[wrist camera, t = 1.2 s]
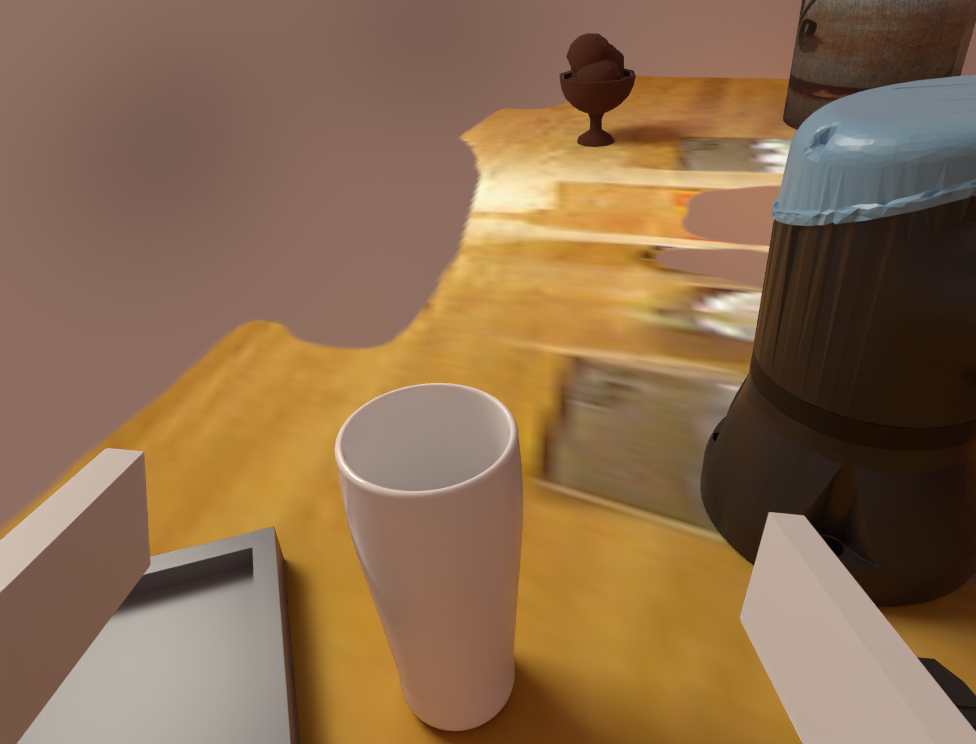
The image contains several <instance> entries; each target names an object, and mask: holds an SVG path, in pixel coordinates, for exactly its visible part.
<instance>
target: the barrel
mask: <svg viewBox="0 0 976 744" xmlns="http://www.w3.org/2000/svg"><path fill="white" fill-rule="evenodd" d="M975 22H976V0H802V6H801V11H800V18H799V24H798V30H797V36H796V42H795V48H794V55H793V60H792V67H791V73H790V79H789V85H788V91H787V97H786V103H785V110H784V116H783V121H784V122H785V123H786V124H787V125H788V126H790V127H792V128H795V129H797V130H798V128H799V127H800V126H801V124H802V123H803V122H804V121H805V120H806V119H807V118H808V117H809V116H810V115H811V114H813V113H814V112H815V111H817V110H818V109H820V108H821V107H823V106H825V105H826V104H829V103H831V102H833V101H835V100H838V99H840V98H843V97H845V96H848V95H852V94H855V93H858V92H861V91H865V90H869V89H874V88H878V87H883V86H888V85H893V84H899V83H905V82H911V81H919V80H927V79H936V78H945V77H955V76H960V75H961V72H962V68H963V64H964V61H965V57H966V54H967V50H968V47H969V43H970V40H971V36H972V33H973V29H974V26H975Z"/></svg>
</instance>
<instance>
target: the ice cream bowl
mask: <svg viewBox="0 0 976 744" xmlns="http://www.w3.org/2000/svg"><path fill="white" fill-rule="evenodd" d="M567 59H568V61H569V64H570V66H571V71H568V72H565V73H562V74H560V82H561V88H562V91H563V93H564V96H565V98H566V99H567V100H568V101H569V102H570V103H571V104H572V105H573V106H574V107H575V108H577V109H578V110H580V111H583V112H585V113H588V114H589V117H590V130H588V131H587V132H585V133H584V134H582V135H581V136H579V137H578V144H581V145H583V146H594V147H597V146H605V145H609V144H611V143H613V138H612V135H610V134H609V133H607V132H605V131H604V130H602V117H603V115H604V113H605V112H608V111H610V110H612V109H614V108H615V107H617V106H618V105H620V104H621V103H622V102H623V101H624V100H625V99H626V98H627V97H628V96H629V94H630V92H631V90H632V88H633V85H634V81H635V76H636V75H635V73H634V71H633V70H628V69H624V56H623V55H622V54H621V53H620V52H619V51H618V50H616V48H615V47H614V46H613V45H611V44H609V43H608V41H607V40H606V39H605V38H603V37H602V36H601V35H600V34H585V35H581V36H579V37H578V38H577V39H576V40H575V41H574V42H573V43H572V44H571V46H570V48H569V51H568V54H567Z"/></svg>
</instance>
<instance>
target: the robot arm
mask: <svg viewBox="0 0 976 744" xmlns="http://www.w3.org/2000/svg"><path fill="white" fill-rule="evenodd" d="M772 212H773V218H774V223H773V229H772V235H771V242H770V248H769V254H768V260H767V267H766V272H765V279H764V285H763V291H762V297H761V303H760V309H759V315H758V321H757V328H756V334H755V340H754V348H753V353H752V359H751V365H750V370H749V374H748V376H747V377H746V379H745V381H744V382H743V384H742V385H741V387H740V389H739V390H738V392H737V394H736V396H735V398H734V399H733V401H732V403H731V405H730V408H729V410H728V413H727V416H726V417H725V418H723V419H722V420H721V422H720V423H719V424H718V425H717V427H716V428H715V429H714V431H713V433H712V435H711V436H710V438H709V441H708V443H707V446H706V449H705V454H704V460H703V467H702V474H701V485H700V487H701V495H702V500H703V503H704V506H705V509H706V511H707V513H708V515H709V517H710V519H711V521H712V522H713V524H714V525H715V527H716V528H717V530H718V531H719V532H720V534H721V535H722V536H723V537H724V538H725V539H726V540H727V541H728V542H729V543H730V544H731V545H732V546H733V547H734V548H735V549H736V550H737V551H738V552H739V553H740V554H742V555H743V556H744V557H745V558H747V559H748V560H749V561H751V562H752V563H754V568H753V571H752V575H751V579H750V582H749V586H748V590H747V593H746V597H745V600H744V604H743V608H742V611H741V615H740V621H741V622H742V624H743V626H744V628H745V630H746V632H747V634H748V636H749V638H750V640H751V642H752V644H753V646H754V648H755V650H756V652H757V654H758V656H759V658H760V660H761V662H762V664H763V666H764V668H765V670H766V672H767V674H768V676H769V678H770V680H771V682H772V684H773V686H774V688H775V690H776V692H777V694H778V696H779V698H780V700H781V702H782V704H783V706H784V708H785V710H786V712H787V714H788V716H789V718H790V720H791V722H792V724H793V726H794V728H795V730H796V732H797V734H798V736H799V738H800V740H801V742H802V744H976V696H975V694H974V693H973V692H972V691H971V690H970V688H969V687H968V686H967V685H966V684H965V683H964V682H963V681H962V680H961V679H959V678H958V677H957V676H956V675H954V674H953V673H952V672H950V671H949V670H948V669H946V668H945V667H944V666H942V665H941V664H940V663H939V662H937V661H936V660H935V659H929V658H918V657H916V656H915V654H914V653H913V652H912V651H911V649H910V648H909V647H908V646H907V644H906V643H905V642H904V641H903V639H902V638H901V637H900V636H899V634H898V633H897V632H896V631H895V629H894V628H893V627H892V626H891V624H890V623H889V622H888V620H887V619H886V618H885V617H884V615H883V614H882V613H881V612H880V610H879V609H878V608H877V607H876V605H906V604H913V603H919V602H924V601H928V600H931V599H935V598H938V597H940V596H943V595H945V594H947V593H949V592H951V591H953V590H955V589H956V588H958V587H960V586H961V585H962V584H963V583H965V582H966V581H967V580H968V579H969V578H970V577H971V576H972V574H973V573H974V572H975V570H976V75H969V76H955V77H945V78H936V79H927V80H919V81H911V82H905V83H899V84H893V85H888V86H883V87H878V88H874V89H869V90H865V91H861V92H858V93H855V94H852V95H848V96H845V97H843V98H840V99H838V100H835V101H833V102H831V103H829V104H826V105H825V106H823V107H821V108H820V109H818V110H817V111H815V112H814V113H813V114H811V115H810V116H809V117H808V118H807V119H806V120H805V121H804V122H803V123H802V124H801V126H800V127H799V128H798V130H797V132H796V133H795V135H794V137H793V140H792V143H791V146H790V150H789V154H788V158H787V162H786V167H785V171H784V175H783V180H782V184H781V188H780V193H779V196H778V197H777V198H776V199H775V201H774V204H773V207H772ZM149 566H150V548H149V530H148V512H147V495H146V477H145V459H144V452H143V451H132V450H122V449H112V448H106V449H105V450H103V451H102V452H101V453H100V454H99V455H98V456H97V457H95V458H94V459H93V460H92V461H91V462H90V463H89V464H87V465H86V466H85V467H84V468H83V469H82V470H80V471H79V472H78V473H77V474H76V475H75V476H74V477H72V478H71V479H70V480H69V481H68V482H67V483H66V484H64V485H63V486H62V487H61V488H60V489H59V490H58V491H56V492H55V493H54V494H53V495H52V496H51V497H50V498H48V499H47V500H46V501H45V502H44V503H43V504H42V505H40V506H39V507H38V508H37V509H36V510H35V511H33V512H32V513H31V514H30V515H29V516H28V517H27V518H25V519H24V520H23V521H22V522H21V523H20V524H19V525H17V526H16V527H15V528H14V529H13V530H12V531H11V532H9V533H8V534H7V535H6V536H5V537H4V538H3V539H1V540H0V744H17V743H18V741H19V740H20V739H21V737H22V736H23V735H24V733H25V732H26V731H27V729H28V728H29V727H30V725H31V724H32V723H33V721H34V720H35V719H36V717H37V716H38V715H39V713H40V712H41V711H42V709H43V708H44V707H45V705H46V704H47V703H48V701H49V700H50V699H51V697H52V696H53V695H54V693H55V692H56V691H57V689H58V688H59V687H60V685H61V684H62V683H63V681H64V680H65V679H66V677H67V676H68V675H69V673H70V672H71V671H72V669H73V668H74V667H75V665H76V664H77V663H78V661H79V660H80V659H81V657H82V656H83V655H84V653H85V652H86V651H87V649H88V648H89V647H90V645H91V644H92V643H93V641H94V640H95V639H96V637H97V636H98V635H99V633H100V632H101V631H102V629H103V628H104V627H105V625H106V624H107V623H108V621H109V620H110V619H111V617H112V616H113V615H114V613H115V612H116V611H117V609H118V608H119V607H120V605H121V604H122V603H123V601H124V600H125V598H126V597H127V596H128V594H129V593H130V592H131V590H132V589H133V588H134V586H135V585H136V584H137V582H138V581H139V580H140V578H141V577H142V576H143V574H144V573H145V572H146V570H147V569H148V568H149Z"/></svg>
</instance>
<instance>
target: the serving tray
mask: <svg viewBox="0 0 976 744" xmlns="http://www.w3.org/2000/svg"><path fill="white" fill-rule="evenodd" d="M17 744H300V741H299V729H298V718H297V706H296V695H295V683H294V672H293V660H292V649H291V637H290V626H289V614H288V603H287V592H286V580H285V569H284V558H283V554H282V551H281V548H280V544H279V541H278V538H277V535H276V531H275V528H274V527H270V528H266V529H262V530H258V531H253V532H249V533H245V534H241V535H237V536H233V537H229V538H225V539H221V540H217V541H213V542H209V543H205V544H201V545H197V546H193V547H189V548H185V549H181V550H177V551H173V552H169V553H165V554H161V555H157V556H153V557H150V566H149V568H148V569H147V570H146V572H145V573H144V574H143V576H142V577H141V578H140V580H139V581H138V582H137V584H136V585H135V586H134V588H133V589H132V590H131V592H130V593H129V594H128V596H127V597H126V598H125V600H124V601H123V603H122V604H121V605H120V607H119V608H118V609H117V611H116V612H115V613H114V615H113V616H112V617H111V619H110V620H109V621H108V623H107V624H106V625H105V627H104V628H103V629H102V631H101V632H100V633H99V635H98V636H97V637H96V639H95V640H94V641H93V643H92V644H91V645H90V647H89V648H88V649H87V651H86V652H85V653H84V655H83V656H82V657H81V659H80V660H79V661H78V663H77V664H76V665H75V667H74V668H73V669H72V671H71V672H70V673H69V675H68V676H67V677H66V679H65V680H64V681H63V683H62V684H61V685H60V687H59V688H58V689H57V691H56V692H55V693H54V695H53V696H52V697H51V699H50V700H49V701H48V703H47V704H46V705H45V707H44V708H43V709H42V711H41V712H40V713H39V715H38V716H37V717H36V719H35V720H34V721H33V723H32V724H31V725H30V727H29V728H28V729H27V731H26V732H25V733H24V735H23V736H22V737H21V739H20V740H19V741H18V743H17Z"/></svg>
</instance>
